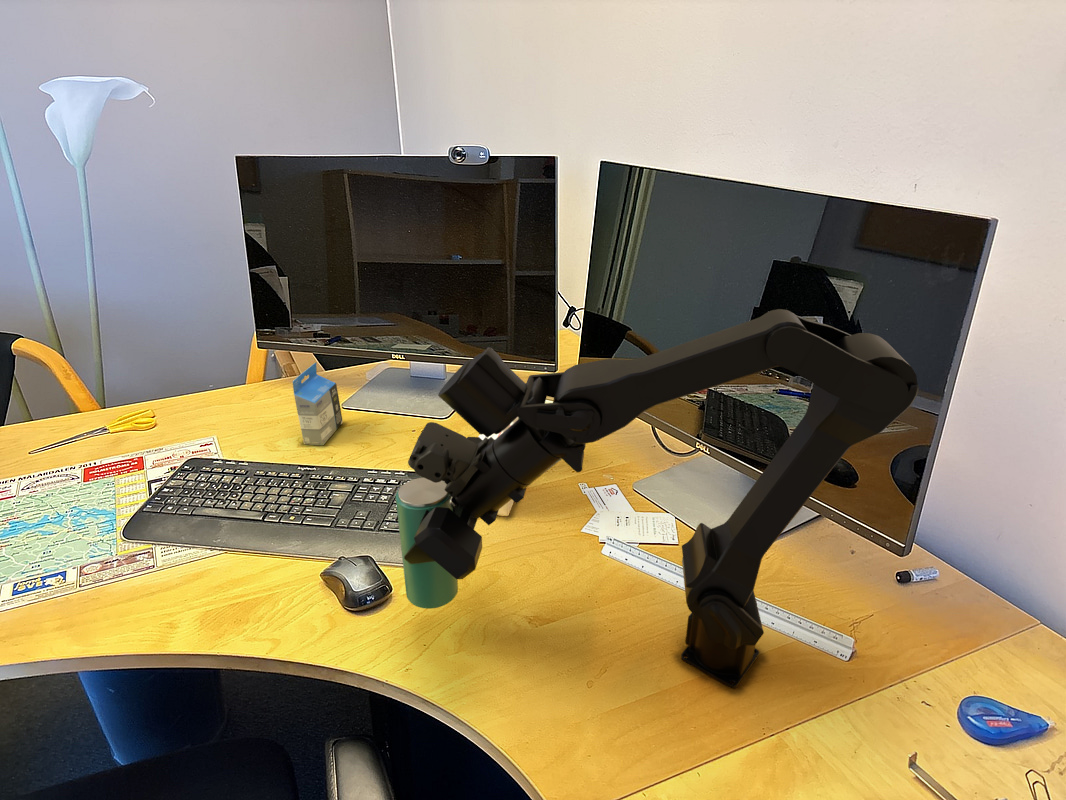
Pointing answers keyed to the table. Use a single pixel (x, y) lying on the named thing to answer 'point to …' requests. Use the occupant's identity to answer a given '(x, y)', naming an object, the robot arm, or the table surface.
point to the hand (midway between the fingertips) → (415, 542)
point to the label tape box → (317, 406)
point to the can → (422, 580)
